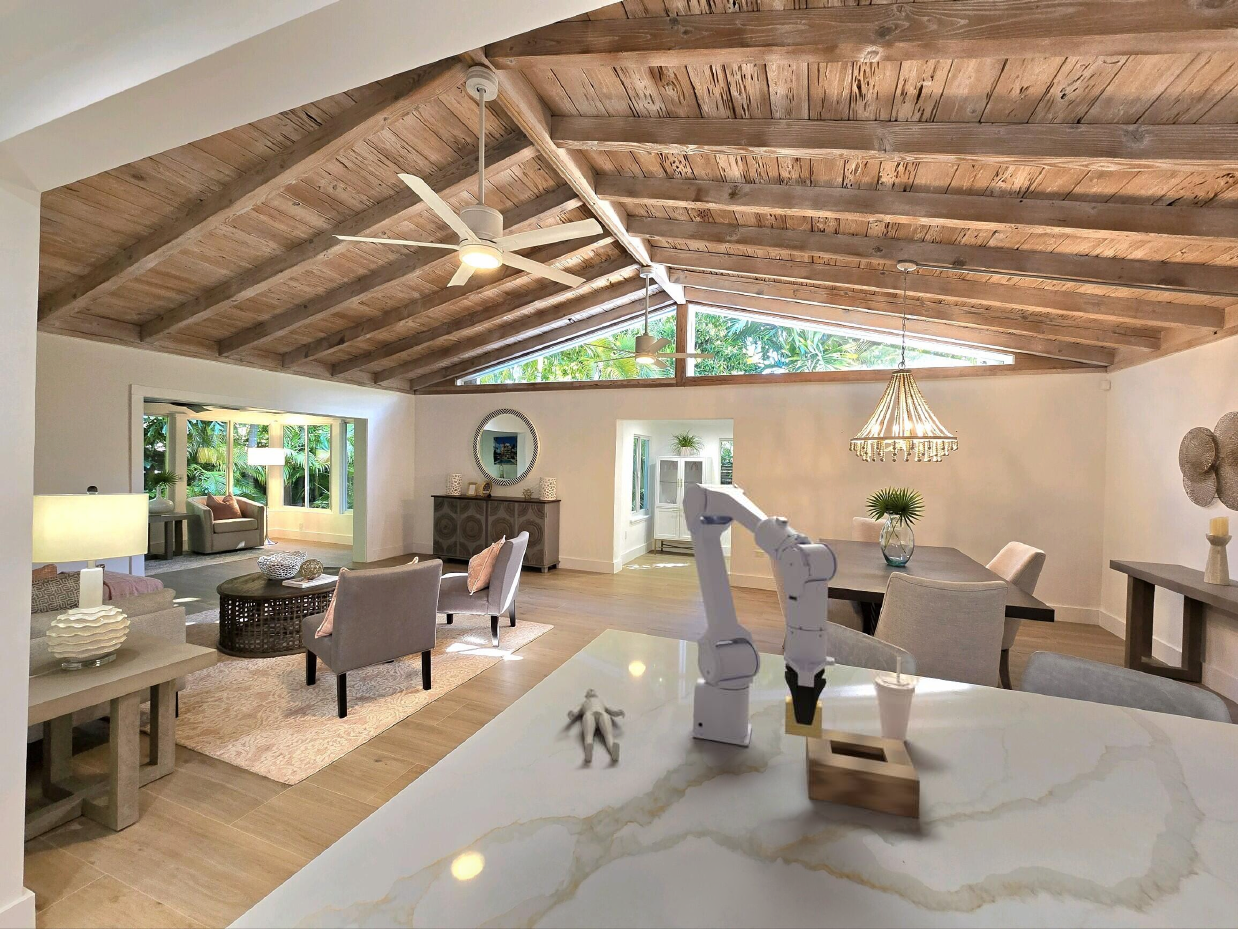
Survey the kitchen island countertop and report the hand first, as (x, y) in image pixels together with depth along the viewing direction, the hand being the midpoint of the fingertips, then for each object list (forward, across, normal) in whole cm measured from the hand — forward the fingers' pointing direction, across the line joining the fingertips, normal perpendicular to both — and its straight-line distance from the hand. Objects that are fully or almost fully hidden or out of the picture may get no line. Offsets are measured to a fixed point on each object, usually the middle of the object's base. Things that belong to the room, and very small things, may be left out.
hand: (803, 719), depth 82 cm
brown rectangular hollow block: (+10, +3, -8) cm, 13 cm away
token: (+2, 0, 0) cm, 2 cm away
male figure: (+10, +6, +34) cm, 36 cm away
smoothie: (+10, +22, -15) cm, 29 cm away
